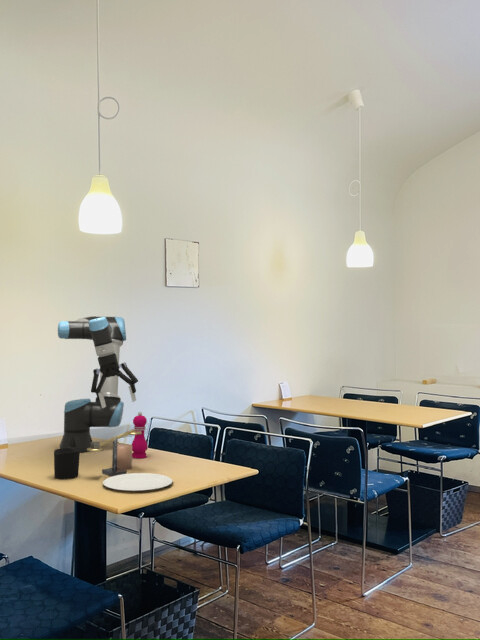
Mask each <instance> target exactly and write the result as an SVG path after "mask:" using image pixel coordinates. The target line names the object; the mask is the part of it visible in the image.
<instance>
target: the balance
mask: <svg viewBox="0 0 480 640" xmlns="http://www.w3.org/2000/svg"><path fill="white" fill-rule="evenodd" d="M139 434H142V432H141V431H135V429H134V428H132V429H130V430H127V431H125V432H123V433H121V434H117V435H115V436H113V437H111V438H108V439H106V440H103V441H101V442H100V441H97V440H96V441H92V442H91V447H90V448H87V452H91V453H93V452H94V453H96V452H103V451H104V447H103V446H105V445H107V444H109V443H111V442H112V456H111V457H112V461H111V462H112V463H111V465H112V466H111V467H110V468H109V467H108V468H104V469H103V468H102V471H101V472H102V474H103V475H106V476H108V477H112V476H117V475H122V474H128V470H123V469H120V468H117V444H118V443H119V442H118V440H119V439H121V438H124V437H126V436H128V435H130V436H135V435H139Z"/></svg>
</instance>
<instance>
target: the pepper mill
mask: <svg viewBox="0 0 480 640" xmlns="http://www.w3.org/2000/svg"><path fill="white" fill-rule="evenodd" d="M147 423H148V421H147V418H146V416H145V415H143V413H142V412H141V411H139V412H138V413H137V415H135V416H134V417H133V420H132V424H133V425H134V427H133V429H135V431H141V432H142V434H139V435H134V438H133V440H132V442H131V445H132V459H136V460H138V459H141V460H142V459H145V458H147V452H146V451H148V447H149V445H148V443H147V439H146V437H145V430H146V425H147Z"/></svg>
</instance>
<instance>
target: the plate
mask: <svg viewBox="0 0 480 640" xmlns="http://www.w3.org/2000/svg"><path fill="white" fill-rule="evenodd" d="M172 484H173V479H172V478H171V477H170V476H167V475H164V474H159V473H149V472H134V473H132V472H131V473H127V474H122V475H117V476H112V477H111V476H109V477H107V478H106V479H104V480H103V481H102V485H103V486H104V487H106V488H107V489H110V490H114V491H120V492H133V491H135V492H149V491H155V490H161V489H164V488H166V487H169V486H171V485H172Z"/></svg>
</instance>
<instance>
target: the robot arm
mask: <svg viewBox="0 0 480 640" xmlns="http://www.w3.org/2000/svg"><path fill="white" fill-rule="evenodd" d="M57 336H58V338H59V339H62V340H63V339H64V340H89V341H93V346H94V350H95V354H96V356H97V362H98V364H99V365H98V366H99V368H95V369H93V371H92V372H93V378H92V384H91V387H90V388H91V389H90V392H91V393H95V394H96V397H95V400H94V401H91V398H80V399H74V400H73V399H72V400H70V401H67V402H65V404H64V411H63V420H64V421H63V422H64V423H63V435H62V438H61V441H60V444H59V449H61V448H71V449H74V450H76V451H78V450H80V453H87V452H88V451H87V448H90V447H91V442H93V439H92V436H91V431H90V430H91V428H116V427H119V426H120V425H121V422H122V420H123V413H124V407H125V406H124V405H125V403H124V401H122V400H121V399H122V398H121V397H120V396H119V395H118V394H119V378H120V379H121V380H122V381H124V382H125V383H126V384H128V385H129V386H128V390H129V393H130V398H131V402H132V403H134V402H135V401H137V398H136V394H135V393H136V392H137V388H136V385H135V384H136V383H138V382H139V380H138V378H137V377H136V376H135V374H134V373H133V371H131V369H130V368H129V367H128V365H127V363H126V362H122V363H120V354H121V353H120V349H121V347H122V346H123V345H124V342H126V341H127V332H126V324H125V319H124V318H123V317H121V316H86V317H81V318H77V319H76V320H74V321H73V320H64V321H63V320H62V321H61V320H60V321H59V322H58V325H57ZM120 369H121V370H123V372H124V373H123V372H122V371H121V370H120ZM98 381H99V382H98Z"/></svg>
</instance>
